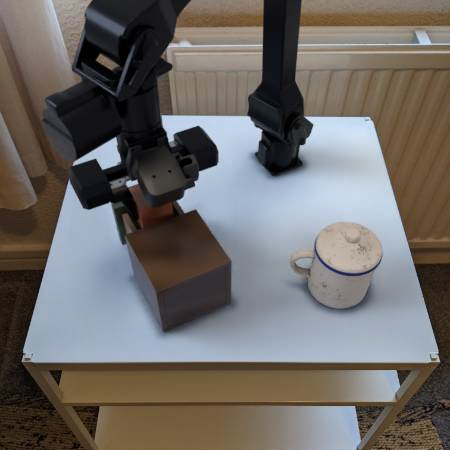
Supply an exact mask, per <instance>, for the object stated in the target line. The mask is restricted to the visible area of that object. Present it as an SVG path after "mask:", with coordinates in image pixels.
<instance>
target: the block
mask: <svg viewBox="0 0 450 450" xmlns="http://www.w3.org/2000/svg"><path fill="white" fill-rule="evenodd" d="M135 185H136V184H135ZM132 186H133V185H132ZM128 189H129V190H130V192H131V194H132V195H133V198H132V199H133V201H134V204H135V207H136V210H137V213H138V220H137V221H138V223H139V225H140V226H141V228H142V229H143V228H146V227H148V226H151V225H154V224H157V223H159V222H162V221H165V220H167V219H170V218H173V217H174V216H173V207H172V202H170V203H167V204H164V205H162V206H161V207H158V208H153V207H150V206H149V205H148V204H147V202H146V199H145V197H144V195H143V192H142V190H141V188H140V186H139V185H136V186H133V187H131V188H128Z"/></svg>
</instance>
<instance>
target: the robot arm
mask: <svg viewBox="0 0 450 450" xmlns="http://www.w3.org/2000/svg"><path fill="white" fill-rule="evenodd" d="M302 1H303V0H263V1H262V3H263V6H262V7H263V8H262V51H261V52H262V55H261V57H262V58H261V61H262V63H261V82H260V83H259V84H258V86H257V87H256V88H255V90H254V91H253V92H252V93H250V94H248V96H247V103H248V108H247V109H248V110H247V114H246V116H247V117H249V118H250V121H251V122H252V123H253V126H254V127H255V128H257V129H260V130H261V134H260V135H261V136H260V140H259V141H258V145H257V146H258V147H257V151H255V153H254V157H255V158H256V159H257V161H258V163H260V165H261V166H262V167H263V168H264V169H265V170H266V171H267V172H268V173H269V175H271V177H275V176H278V175H281V174H283V173H286V172H289V171H292V170H295V169H297V168H300V167H303V165H304V162H303V160H302V159H301V158H300V157H299V155H300V150H301V149H300V148H301V146H305V145H306V143H307V139H308V138H309V137H310V136H311V134H312V132H313V128H314V123H312V121H310V120H309V119H308V118H307V117H305V101H304V100H305V99H304V96H303V94H302V92H301V90H300V88H299V86H298V84H297V82H296V76H297V75H296V74H297V63H298V51H299V40H300V39H299V38H300V28H301V27H300V26H301V25H300V24H301V16H302V15H301V13H302ZM191 2H192V0H91V1H90V3H88V5H87V7H86V9H85V11H84V14H83V16H84V24H83V28H82V32H81V34H80V39H79V40H78V41H79V42H78V44H77V48H76V52H75V55H74V58H73V62H72V66H71V71H72V73H74V74H75V75H77V76H79V77H80V79H81V81H79V82H77V83H75V84H74V85H71V86H69V87H68V88H66V89H64V90H61V91H58V92H57V91H56V92H54V93H51V94H50V95H48V96H46V97H45V98H44V103H45V107H46V108H43V110H42V113H41V118H42V119H41V120H40V122H41V125H42V127H43V128H42V129H43V130H44V132H45V134H46V136H47V138H48V140H49V141H50V143H51V144H52V146H53V147H54V148H55V150H56V151H57V152H58V154H60V156H61V157H63V158H64V159H65V160H67V161H68V162H71V163H74V162H77V161H78V160H79V159H81V158H84V157H85V156H86V155H88V154H90V153H92V152H94V150H95V151H96V150H97V149H98V148H100V147H102V146H104V145H105V144H106V143H109V142H110V141H112V140H113V139H115V138H116V139H115V140H116V144H117V145H116V150H117V153H118V154H119V158H120V161H118V162H117V163H116V164H115V165H112V166H110V167H107V168H104V169H103V168H102V166H101V164H100V163H99V161H98V159H97V158H92V159H90V160H86V161H83V162H80V163H77V164H74V165H71V166H69V168H68V170H67V173H66V175H67V177H68V181H69V183H70V185H71V188H72V189H73V191H74V193H75V195H76V197H77V199H78V201H79V203H80V206H81V207H82V209H83V210H88V211H91V210H93V209H96V208H100V207H102V206H104V205H108V204H116V203H119V202H121V203H122V204H123V205H124V206H125V207H126V208H127V209H128V210H129V212H130V213H131V215H132V216H133V217H134V219H135V220H138V213H137V210H136V207H135V204H134V201H133V199H132V198H133V195H132V194H131V192H130V190H129V189H128V187H129V186H128V185H127V182H130V181H131V182H135V181H136V183H137V184H139V186H140V188H141V190H142V192H143V195H144V197H145V199H146V202H147V204H148V205H149V206H150V207H153V208H158V207H161V206H162V205H164V204H167V203H170V202H172V204H173V201H177V202H178V201H180V200H181V199H183V198H184V196H185V193H186V191H187V190H189V189H193V188H196V183H195V182H197V181H198V180H199V178H200V172H203V171H205V170H208V169H211V168H214V167H217V166H218V165H219V162H220V161H219V160H220V159H219V157H220V156H219V155H220V154H219V153H220V152H219V149H218V146H217V144H216V143H215V141H213V140H212V138H211V137H210V136H209V134H208V133H207V132H206V130H205V129H204V128H203V127H201V126H200V125H195V126H192V127H189V128H186V129H183V130H180V131H177V132H174V133H173V135H172V136H173V140H171V141H169V137H168V131H167V130H166V129H165V128H164V124H163V123H164V121H163V115H162V106H161V97H160V88H159V80H158V79H159V78H160V77H162V76H164V75H165V74H167V73H169V72H171V71H172V70H173V67H174V66H173V63H171V62H169V61H168V60H167V59H164V58H163V57H162V55H163V54H164V53H165V51H166V50H167V49H168V48H169V45H171V43H172V41H173V40H174V38H175V33H176V27H177V21H178V18H179V16H181V13H182V12H183V11H184V10H185V8H186V7H187V6H188V5H189V4H190V3H191ZM100 56H102V57H104V58H106V59H108V60H109V61H111V62H113V63H114V64H116V65H117V66H114V67H113V68H112V69H110V67H108V66H106V65H105V64H103V63H102V62H99V61H98V58H99V57H100Z"/></svg>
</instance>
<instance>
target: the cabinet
mask: <svg viewBox="0 0 450 450" xmlns="http://www.w3.org/2000/svg"><path fill="white" fill-rule="evenodd" d="M125 239H126V243H127V244H126V248H127V251H128V256H129V260H130V264H131V268H132V269H131V270H132V272H133V273H132V274H133V277H134V280H135V282H136V284H137V286H138V288H139V290H140V291H141V293H142V296H143V297H144V299H145V301H146V303H147V304H148V306H149V308H150V310H151V312H152V314H153V316H154V318H155V319H156V322H157V323H158V325H159V327H160V328H161V331H162V332H163V333H166V332H167V331H170V330H172V329H174V328H176V327H179V326H181V325H183V324H186V323H189V322H190V321H193V320H195V319H197V318H199V317H202V316H204V315H206V314H209V313H211V312H214V311H216V310H218V309H220V308H224V307H225V306H227V305H230V304H231V298H232V297H231V296H232V295H231V294H232V265H233V263H232V260H231V258H230V257H229V256H228V254H227V252H226V251H225V250H224V248H223V246H221V244H220V242H219V240H218V239H217V238H216V236H215V235H214V233H213V232H212V230H211V229H210V227H209V226H208V224H207V223H206V222H205V220H204V219H203V217H202V215H201V214H200V213H199V212H198V210H197V209H196V208H195V209H192V210H189V211H186V212H184V214H181V215H178V216H176V217H173V218H170V219H167V220H165V221H162V222H159V223H157V224H154V225H151V226H148V227H146V228H143V229H140V230H137V231H135V232H132V233H129V234H127V235H125Z"/></svg>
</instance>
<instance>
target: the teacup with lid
mask: <svg viewBox="0 0 450 450" xmlns="http://www.w3.org/2000/svg"><path fill="white" fill-rule="evenodd" d="M313 245H314V246H313V248H314V249H299V250H297V251H295V252H293V253H292V254H291V256H290V259H289V265H290V269H291V270H292V271H293V272H294V273H295V274H296V275H299V276H301V277H308V278H307V286H308V290H309V292H310V294H311V295H312V296H313V298H314V299H315V300H316V301H317V302H319V303H320V304H322V305H323V306H326V307H329V308H332V309H342V310H343V309H350V308H352V307H354V306H356V305H358V304H359V303H361V302H362V300H363V299H364V298H365V296H366V294H367V291H368V289H369V286H370V285H371V282H372V279H373V276H374V275H375V272H376V270H377V268H378V267H379V266H380V264H381V262H382V259H383V255H384V252H383V245H382V243H381V240H380V239H379V237H378V236H377V235H376V234H375V232H374V231H372V230H371V229H369V228H368V227H367V226H365V225H362V224H359V223H357V222H351V221H339V222H334V223H331V224H329V225H327V226H326V227H324V228H322V230H320V231H319V233H318V234H317V235H316V238H315V240H314V244H313ZM301 259H311V263H310V268H307V267H302V266H299V265H298V264H297V263H296V262H297V261H299V260H301Z"/></svg>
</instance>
